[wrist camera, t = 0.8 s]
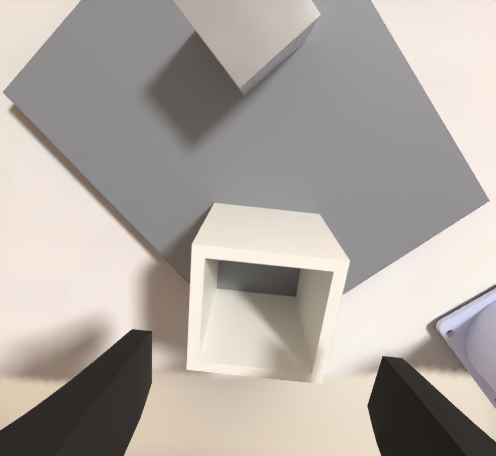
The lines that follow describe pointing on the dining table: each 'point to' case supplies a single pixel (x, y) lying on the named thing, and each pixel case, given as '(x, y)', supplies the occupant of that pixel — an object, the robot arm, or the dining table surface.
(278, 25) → the duct stub
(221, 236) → the collar
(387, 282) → the dining table surface
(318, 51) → the duct panel
